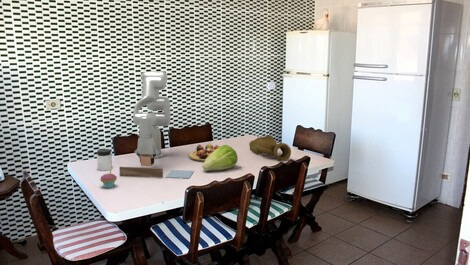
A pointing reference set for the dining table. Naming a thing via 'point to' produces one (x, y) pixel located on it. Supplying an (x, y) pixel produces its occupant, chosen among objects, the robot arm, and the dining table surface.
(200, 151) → the wooden plate with food
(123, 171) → the walnut screen
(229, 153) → the lettuce
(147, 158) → the lettered cube
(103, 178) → the cupcake
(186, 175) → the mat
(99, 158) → the jar
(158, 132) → the robot arm
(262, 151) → the brown looped sculpture
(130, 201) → the dining table surface
